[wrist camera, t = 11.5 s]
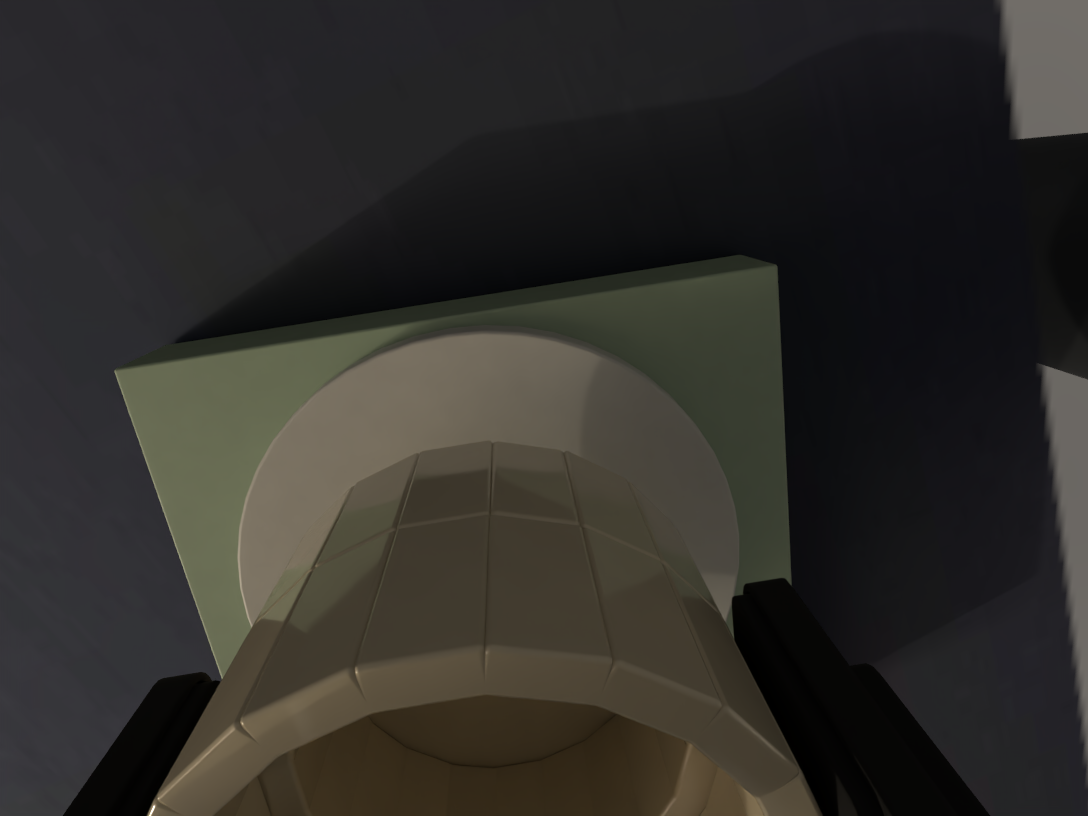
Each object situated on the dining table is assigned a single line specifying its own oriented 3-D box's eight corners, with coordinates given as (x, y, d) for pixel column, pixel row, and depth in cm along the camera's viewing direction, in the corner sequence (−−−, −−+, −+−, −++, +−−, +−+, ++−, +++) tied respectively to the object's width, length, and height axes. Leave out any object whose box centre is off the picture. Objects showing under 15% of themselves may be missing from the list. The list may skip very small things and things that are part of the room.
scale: (741, 253, 14) (792, 268, 12) (770, 721, 18) (812, 806, 16) (163, 345, 14) (93, 377, 12) (310, 797, 18) (279, 894, 15)
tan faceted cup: (678, 398, 11) (837, 588, 6) (710, 750, 13) (849, 1123, 8) (236, 468, 11) (-8, 726, 6) (341, 810, 13) (235, 1227, 8)
